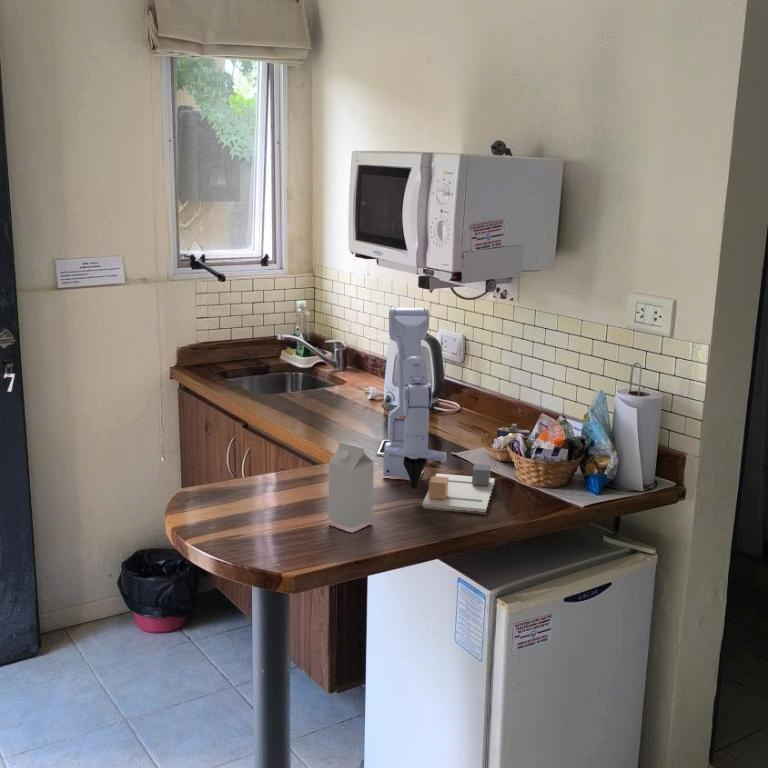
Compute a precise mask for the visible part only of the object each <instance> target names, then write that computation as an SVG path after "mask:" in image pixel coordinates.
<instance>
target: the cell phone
mask: <svg viewBox="0 0 768 768" xmlns="http://www.w3.org/2000/svg"><path fill="white" fill-rule="evenodd" d="M386 442H390V441H389V440H388V438H383V439H381V442H380V444H379V447H378V448H377V451H376V453H375V455H376V454H378V455H384V447H385V444H386Z"/></svg>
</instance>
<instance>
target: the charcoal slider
mask: <svg viewBox="0 0 768 768" xmlns="http://www.w3.org/2000/svg"><path fill="white" fill-rule="evenodd" d="M490 478H491V464H484V463H482V464H481V463H474V464H473V467H472V485H483V486H488V485H489V481H490Z"/></svg>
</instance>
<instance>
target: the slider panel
mask: <svg viewBox="0 0 768 768" xmlns="http://www.w3.org/2000/svg"><path fill="white" fill-rule="evenodd" d="M435 476H437V477H448V494H447V496H446V499H435V498H429V489H428V490H427V493H426V495H425V497H424V499H423V501H422V504H421V505H422V506H428V507H437V508H444V509H454V510H467V511H479V512H486V510H487V511H488V509H487V507H488V508H489V505H488V503H489V504H490V502H489V500H490V501H491V498H490V496H491V497H492V494H493V491H492V489H493V490H494V487H495V481H496V480H495V478H493V477H490V481H489V485H488V486H483V485H472V476H471V475H458V474H448V473H435ZM493 486H494V487H493ZM491 493H492V494H491ZM422 506H421V507H422Z"/></svg>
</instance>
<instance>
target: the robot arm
mask: <svg viewBox="0 0 768 768" xmlns="http://www.w3.org/2000/svg"><path fill="white" fill-rule="evenodd" d="M429 328H430V312H429V308H427V307H426V306H425V307H394V306H392V307H391V308H390V309H389V311H388V335H389V339H390V340H392V341H393V342H395V343H396V347H397V351H398V352H397V353H398V405H397V406H396V407H395V408H393V409H392V410H391V411H389V414H388V415H387V419H388V420H387V439H388V440H389V441H390V442H386V444H385V447H384V456H383V463H382V464H383V467H382V469H383V471H382V477H383V476H395V477H400V478H405V479H410V481H409V482H410V487H411V490H412V489H414V490H417V489H419V483H420V479H421V478H420V476H421V474H422V473H423V474H424V469H425V467H426V463H427V462H428V461H435V462H441V463H446V462H447V452H445V451H440V450H434V449H429V430H430V429H429V427H430V425H429V423H430V408H432V403H433V390H432V385H431V382H430V379H429V377H428V367H427V362H426V360H425V359H423V358H422V341H423V340H425V338H426V336H427V334H428V331H429ZM399 417H401V418H399ZM402 417H404V418H402ZM423 474H422V475H423ZM421 477H422V476H421Z"/></svg>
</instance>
